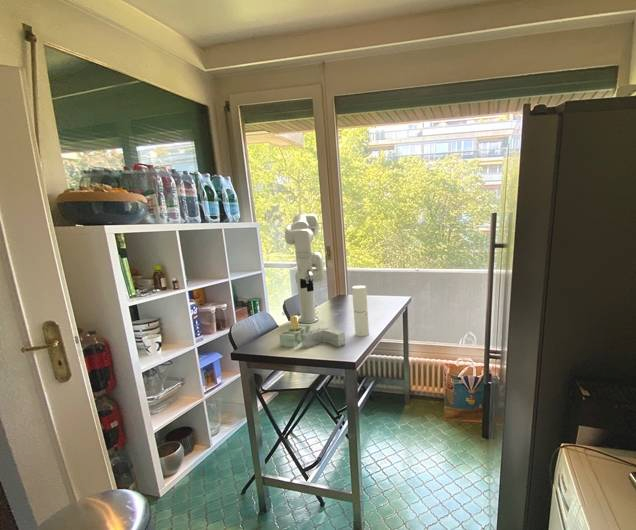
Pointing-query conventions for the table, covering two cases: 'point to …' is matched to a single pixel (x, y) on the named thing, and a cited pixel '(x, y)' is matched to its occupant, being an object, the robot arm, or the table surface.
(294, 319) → the axle
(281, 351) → the table surface
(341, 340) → the v block
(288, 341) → the pale green slotted holder
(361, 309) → the cylindrical container
